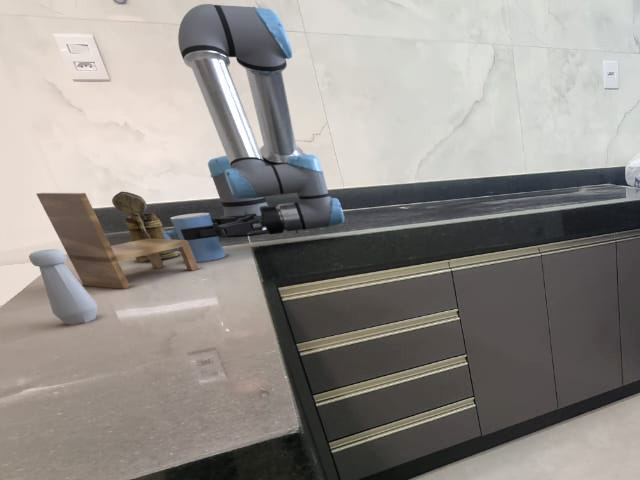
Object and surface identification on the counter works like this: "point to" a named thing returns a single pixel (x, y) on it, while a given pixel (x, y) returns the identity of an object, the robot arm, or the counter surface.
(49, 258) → the salt shaker
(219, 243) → the blue cup
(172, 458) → the counter surface
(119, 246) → the wooden chair
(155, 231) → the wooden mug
